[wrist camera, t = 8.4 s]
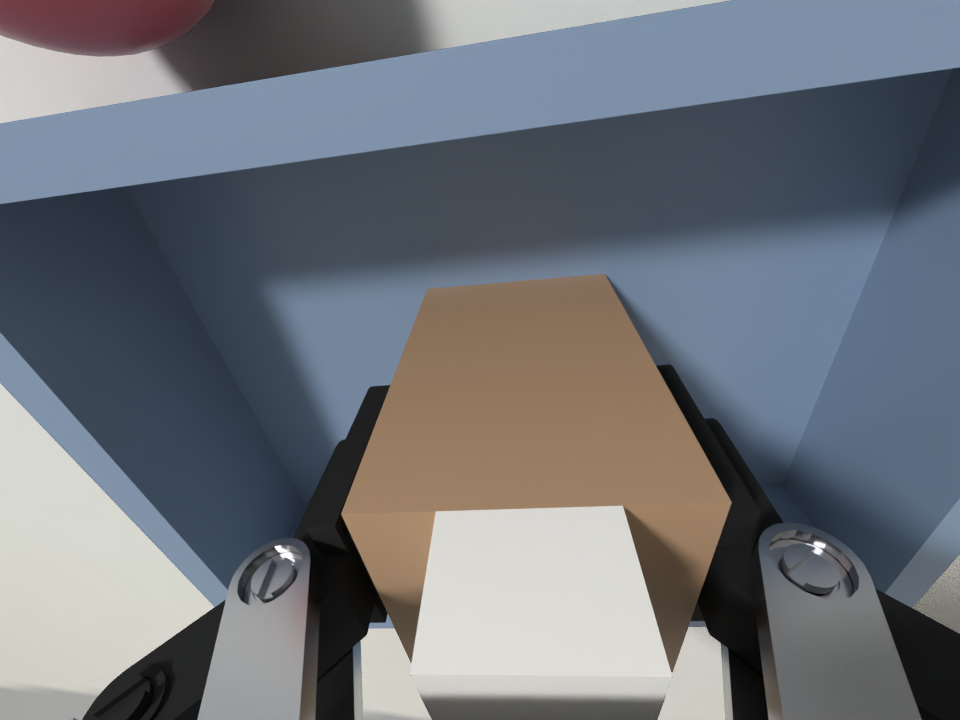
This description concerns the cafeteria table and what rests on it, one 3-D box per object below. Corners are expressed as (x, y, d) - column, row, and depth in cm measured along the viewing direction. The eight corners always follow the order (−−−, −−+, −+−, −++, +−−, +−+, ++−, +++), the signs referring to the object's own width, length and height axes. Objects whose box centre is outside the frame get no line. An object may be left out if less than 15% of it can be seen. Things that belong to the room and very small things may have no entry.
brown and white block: (596, 411, 14) (713, 812, 6) (452, 419, 14) (395, 798, 7) (604, 273, 11) (828, 677, 4) (427, 289, 12) (280, 672, 4)
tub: (996, -17, 8) (1579, -142, 4) (788, 478, 17) (896, 625, 12) (90, 129, 11) (-214, 159, 6) (300, 499, 19) (235, 628, 14)
